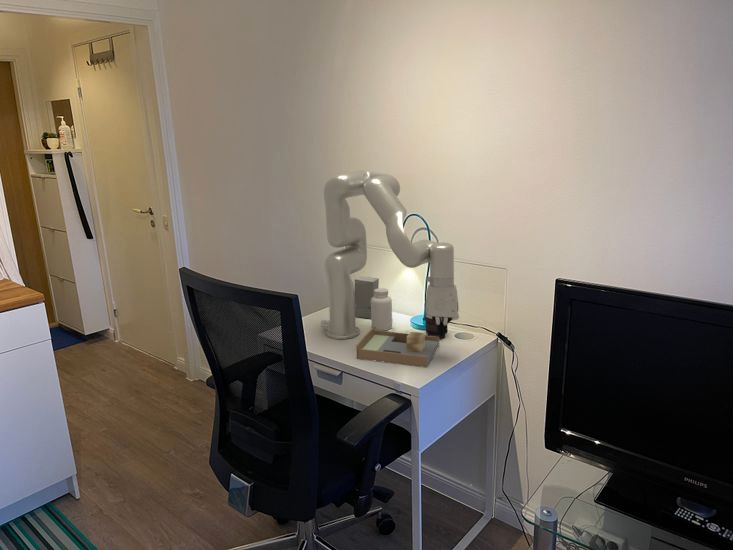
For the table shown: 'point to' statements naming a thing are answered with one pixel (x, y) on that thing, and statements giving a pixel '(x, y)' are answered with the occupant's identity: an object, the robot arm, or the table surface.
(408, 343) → the block
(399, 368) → the table surface
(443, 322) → the robot arm
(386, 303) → the pill bottle
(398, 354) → the box
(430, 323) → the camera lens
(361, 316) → the skincare box
